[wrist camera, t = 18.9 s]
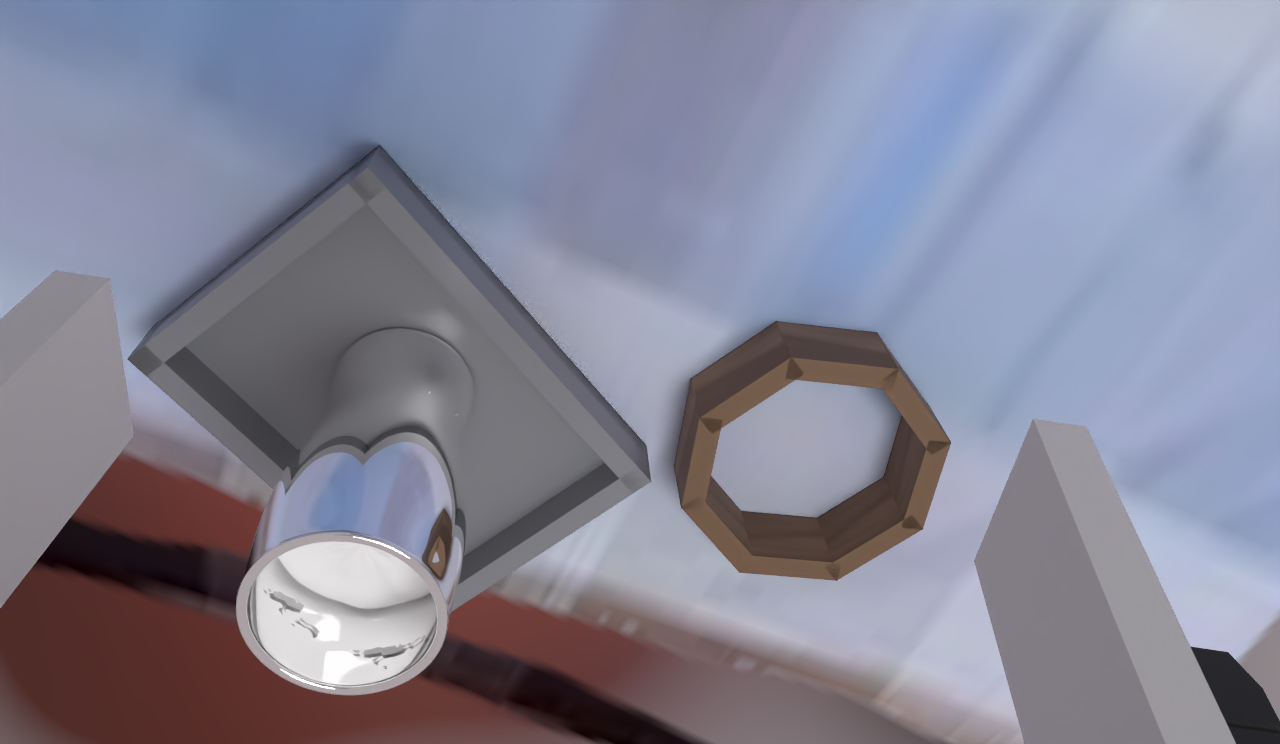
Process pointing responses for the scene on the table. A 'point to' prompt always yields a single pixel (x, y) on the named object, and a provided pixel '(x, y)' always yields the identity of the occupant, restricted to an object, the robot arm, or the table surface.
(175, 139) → the table surface
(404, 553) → the beer glass
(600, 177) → the table surface
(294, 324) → the tray
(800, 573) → the ring holder
